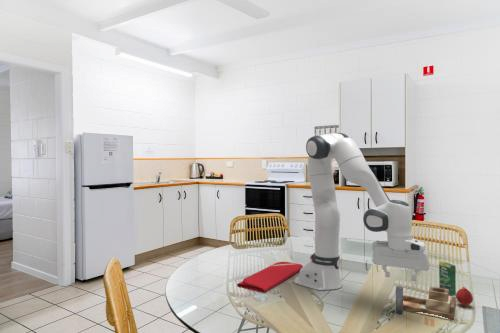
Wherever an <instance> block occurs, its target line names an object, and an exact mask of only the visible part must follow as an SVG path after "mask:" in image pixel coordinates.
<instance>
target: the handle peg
mask: <svg viewBox="0 0 500 333" xmlns="http://www.w3.org/2000/svg"><path fill="white" fill-rule="evenodd" d="M403 295H404V287H403V286H401V285H398V286H397V285H396V286H395V313H396V314H397V315H400V316H401V315H404V311H403V302H404V301H403Z"/></svg>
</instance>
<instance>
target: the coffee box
mask: <svg viewBox="0 0 500 333" xmlns="http://www.w3.org/2000/svg"><path fill="white" fill-rule="evenodd" d="M438 267H439V269H438V270H439V272H438V273H439V275H438V276H439V277H438V279H439V283H438V285H439V287H438V288H444V289H449V296H450V297H455V296H456V293H457V291H456V290H457V289H456V287H457V286H456V285H457V284H456V280H457V279H456V270H457V269H456V267H457V266H456V265H454V264H452V263H449V262H446V261H444V260H443V261H442V260H441V261H438Z"/></svg>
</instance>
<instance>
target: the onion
mask: <svg viewBox="0 0 500 333" xmlns="http://www.w3.org/2000/svg"><path fill="white" fill-rule="evenodd" d="M455 297H456V301H457V302H458V303H459V304H460V305H461V306H462V307H468V306H469V305H471V304H472V303H473V302H474V301H473V300H474V296H473V294H472V293H471V291H470V290H469V289H467V288H466V286H463V285H462V287H461V288H460V289H458V290H457V291H456V295H455Z"/></svg>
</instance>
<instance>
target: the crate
mask: <svg viewBox="0 0 500 333" xmlns="http://www.w3.org/2000/svg"><path fill="white" fill-rule="evenodd" d="M425 299H426V305H425V309H429V310H434V311H439V312H444V313H449V314H450V306H451V301H452V296H451V295H449V289H444V288H439V287H438V286H431V285H430V287H429V289H428V293H427V296H426V298H425Z"/></svg>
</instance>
